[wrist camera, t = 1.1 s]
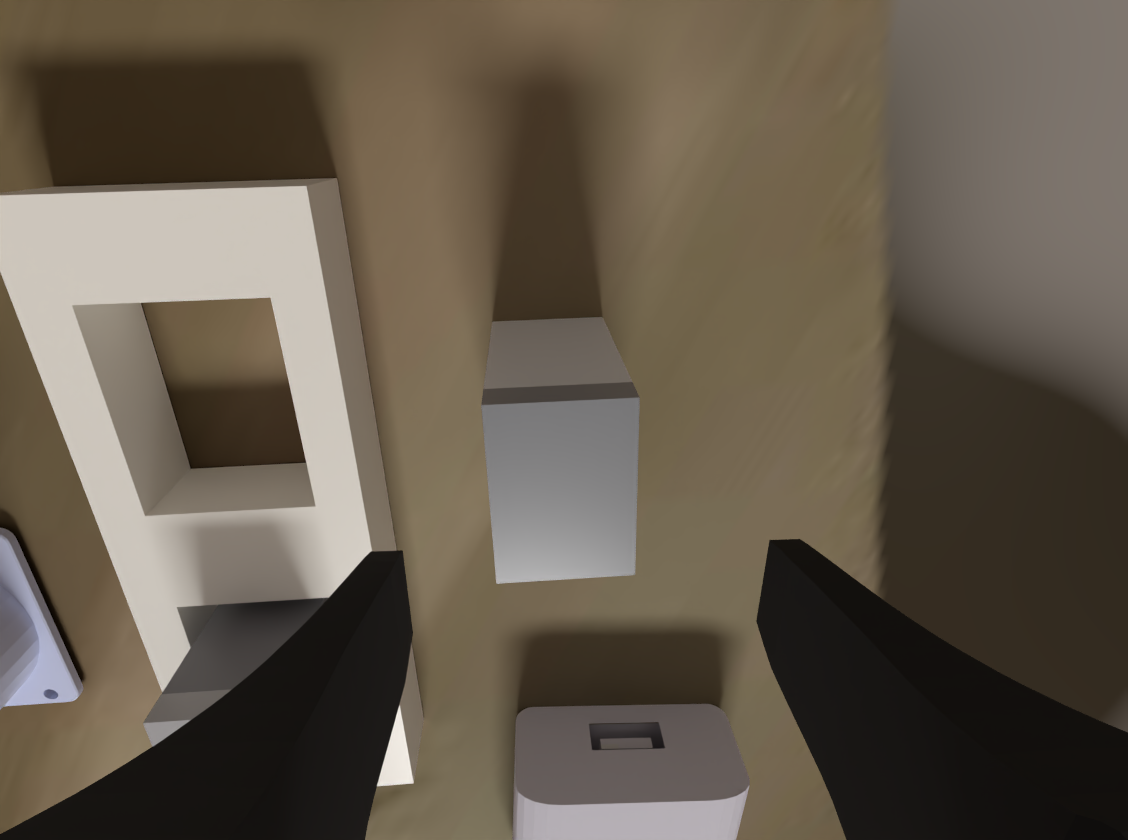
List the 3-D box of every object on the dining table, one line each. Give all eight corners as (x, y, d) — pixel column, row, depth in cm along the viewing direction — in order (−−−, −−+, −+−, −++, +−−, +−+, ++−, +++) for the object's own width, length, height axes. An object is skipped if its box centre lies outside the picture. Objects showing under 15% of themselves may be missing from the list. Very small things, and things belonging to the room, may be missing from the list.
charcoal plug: (270, 666, 26) (191, 839, 20) (242, 566, 24) (142, 723, 18) (360, 660, 26) (309, 829, 20) (339, 560, 24) (276, 713, 18)
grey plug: (502, 457, 23) (496, 583, 17) (492, 321, 21) (481, 405, 14) (602, 452, 23) (634, 574, 17) (602, 316, 21) (639, 397, 15)
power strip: (234, 732, 27) (194, 820, 24) (52, 186, 18) (-56, 199, 15) (423, 719, 28) (410, 802, 24) (337, 178, 19) (296, 188, 15)
